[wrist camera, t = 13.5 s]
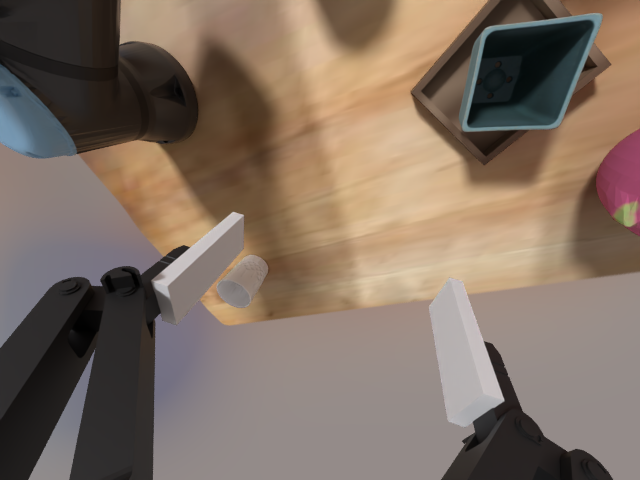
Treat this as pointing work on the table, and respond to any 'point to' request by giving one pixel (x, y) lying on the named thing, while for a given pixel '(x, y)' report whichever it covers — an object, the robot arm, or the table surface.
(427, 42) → the table surface
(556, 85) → the flower pot
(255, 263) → the white cup
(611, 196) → the pink dragon fruit
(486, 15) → the walnut tray
